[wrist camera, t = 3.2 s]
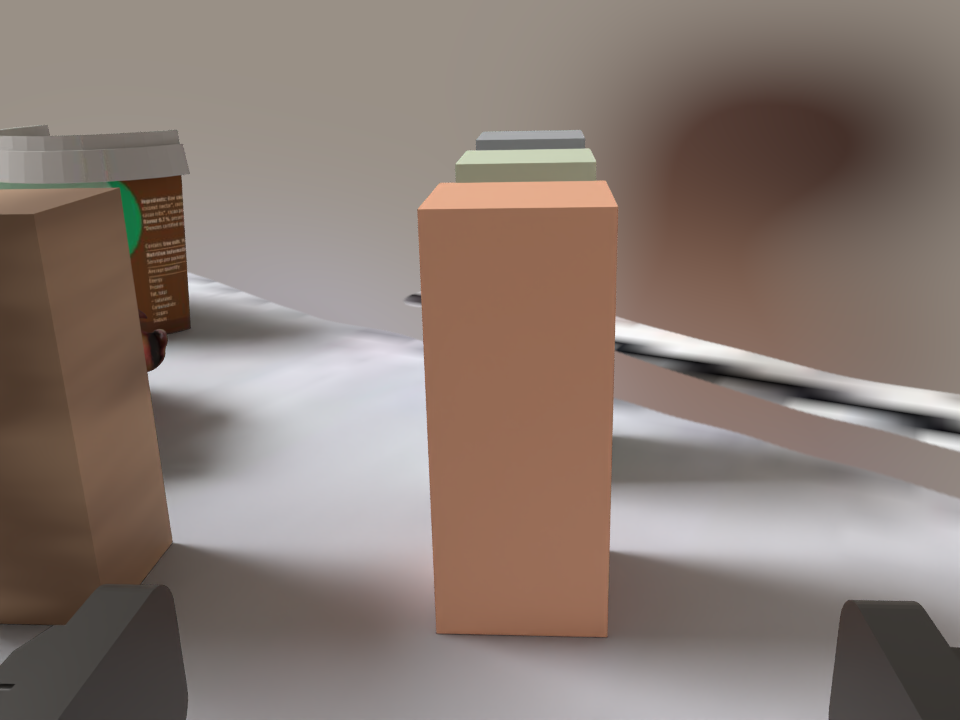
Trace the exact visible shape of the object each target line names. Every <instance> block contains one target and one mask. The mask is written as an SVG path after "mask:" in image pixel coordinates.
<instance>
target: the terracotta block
mask: <svg viewBox="0 0 960 720" xmlns="http://www.w3.org/2000/svg"><path fill="white" fill-rule="evenodd" d="M417 211H418V233H419V255H420V277H421V300H422V322H423V344H424V366H425V389H426V411H427V433H428V455H429V477H430V500H431V522H432V544H433V566H434V588H435V611H436V633H442V634H486V635H531V636H575V637H607V627H608V588H609V548H610V509H611V469H612V430H613V389H614V388H613V387H614V351H615V311H616V271H617V233H618V206H617V204H616V201H615V199H614V197H613V195H612V193H611V191H610V189H609V187H608V185H607V183H606V181H551V182H481V183H440V184H438V186H437V187H436V188H435V189H434V190H433V192H432V193H431V194H430V195H429V196H428V197H427V199H426V200H425V201H424V202H423V203H422V205H421V206H420V207H419V208H418V210H417Z"/></svg>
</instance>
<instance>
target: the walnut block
mask: <svg viewBox="0 0 960 720" xmlns="http://www.w3.org/2000/svg"><path fill="white" fill-rule="evenodd" d="M171 544H172V535H171V528H170V521H169V515H168V508H167V501H166V495H165V488H164V481H163V475H162V468H161V461H160V454H159V448H158V441H157V434H156V428H155V421H154V414H153V408H152V401H151V394H150V387H149V381H148V374H147V367H146V361H145V354H144V347H143V341H142V334H141V327H140V320H139V314H138V307H137V300H136V294H135V287H134V280H133V274H132V267H131V260H130V253H129V247H128V240H127V233H126V227H125V220H124V213H123V207H122V200H121V193H120V188H64V189H0V624H38V625H66V624H67V622H68V621H69V620H70V619H71V618H72V617H73V615H74V614H75V613H76V612H77V611H78V610H79V608H80V607H81V606H82V605H83V604H84V602H85V601H86V600H87V599H88V598H89V597H90V595H91V594H92V593H93V592H94V591H95V590H96V589H97V588H98V587H99V586H101V585H103V584H131V585H140V584H141V582H142V581H143V580H144V579H145V577H146V576H147V575H148V573H149V572H150V571H151V570H152V568H153V567H154V566H155V564H156V563H157V562H158V560H159V559H160V558H161V557H162V555H163V554H164V553H165V551H166V550H167V549H168V547H169V546H170V545H171Z"/></svg>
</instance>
